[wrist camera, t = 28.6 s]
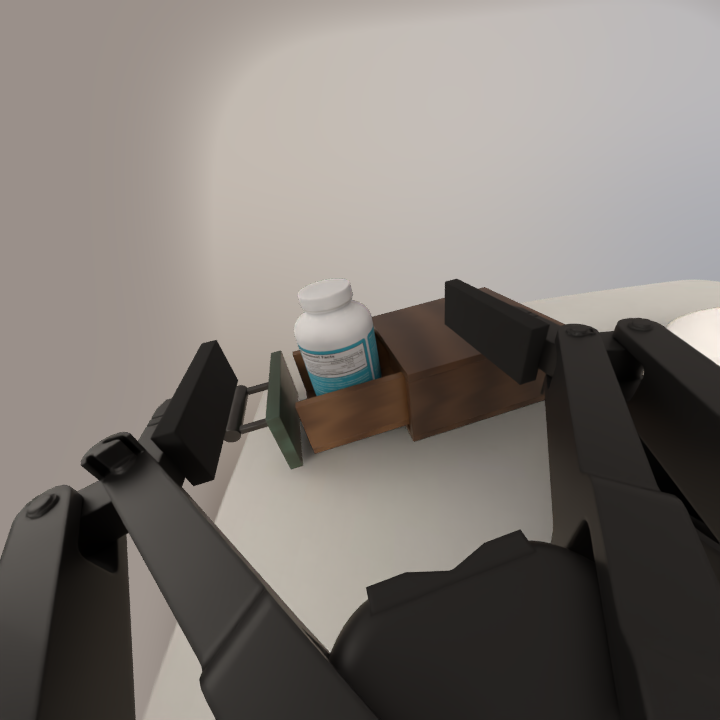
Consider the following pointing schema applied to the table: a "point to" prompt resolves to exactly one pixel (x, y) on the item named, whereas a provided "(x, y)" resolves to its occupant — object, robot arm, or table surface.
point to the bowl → (700, 331)
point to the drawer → (323, 408)
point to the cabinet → (449, 371)
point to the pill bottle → (336, 337)
